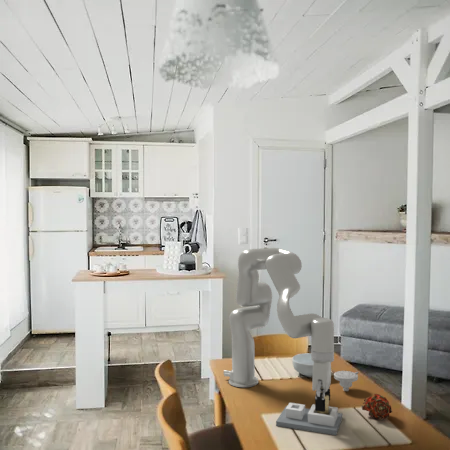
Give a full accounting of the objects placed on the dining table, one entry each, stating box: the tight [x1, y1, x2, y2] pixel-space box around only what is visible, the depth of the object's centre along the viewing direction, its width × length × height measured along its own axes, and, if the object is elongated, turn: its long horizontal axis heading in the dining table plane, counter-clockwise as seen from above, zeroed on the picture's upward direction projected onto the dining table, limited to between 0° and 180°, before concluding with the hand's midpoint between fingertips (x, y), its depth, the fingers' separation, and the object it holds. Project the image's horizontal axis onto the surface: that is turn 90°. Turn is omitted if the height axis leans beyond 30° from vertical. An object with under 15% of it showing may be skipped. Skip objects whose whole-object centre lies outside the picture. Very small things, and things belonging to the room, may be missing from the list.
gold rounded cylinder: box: [317, 394, 330, 415], centre depth 162 cm, size 4×4×8 cm
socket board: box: [275, 402, 343, 436], centre depth 163 cm, size 20×14×4 cm
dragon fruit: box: [361, 393, 393, 421], centre depth 167 cm, size 8×8×12 cm
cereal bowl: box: [291, 352, 314, 378], centre depth 211 cm, size 17×17×7 cm
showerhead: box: [333, 370, 359, 392], centre depth 192 cm, size 9×7×10 cm
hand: (322, 405), depth 162 cm, fingers open, 9 cm apart
